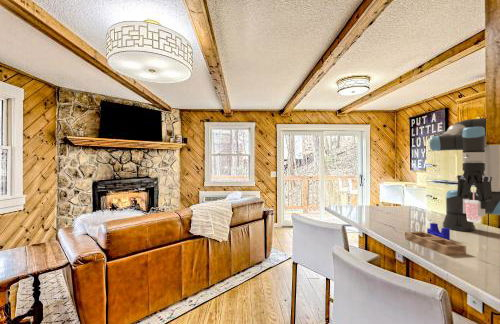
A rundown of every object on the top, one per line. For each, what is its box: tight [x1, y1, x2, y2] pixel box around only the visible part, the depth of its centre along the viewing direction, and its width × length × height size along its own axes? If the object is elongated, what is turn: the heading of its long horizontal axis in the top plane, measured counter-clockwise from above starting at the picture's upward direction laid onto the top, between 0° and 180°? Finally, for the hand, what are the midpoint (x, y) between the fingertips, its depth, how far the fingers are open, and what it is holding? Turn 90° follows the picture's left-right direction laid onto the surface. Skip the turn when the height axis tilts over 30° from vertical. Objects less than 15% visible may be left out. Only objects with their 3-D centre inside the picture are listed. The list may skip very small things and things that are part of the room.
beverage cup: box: [465, 189, 482, 223], centre depth 115 cm, size 6×6×14 cm
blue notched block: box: [426, 222, 451, 241], centre depth 139 cm, size 12×4×6 cm, turn 173°
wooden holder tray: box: [404, 231, 467, 256], centre depth 124 cm, size 24×10×4 cm, turn 8°
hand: (473, 214), depth 115 cm, fingers closed on beverage cup, 6 cm apart
